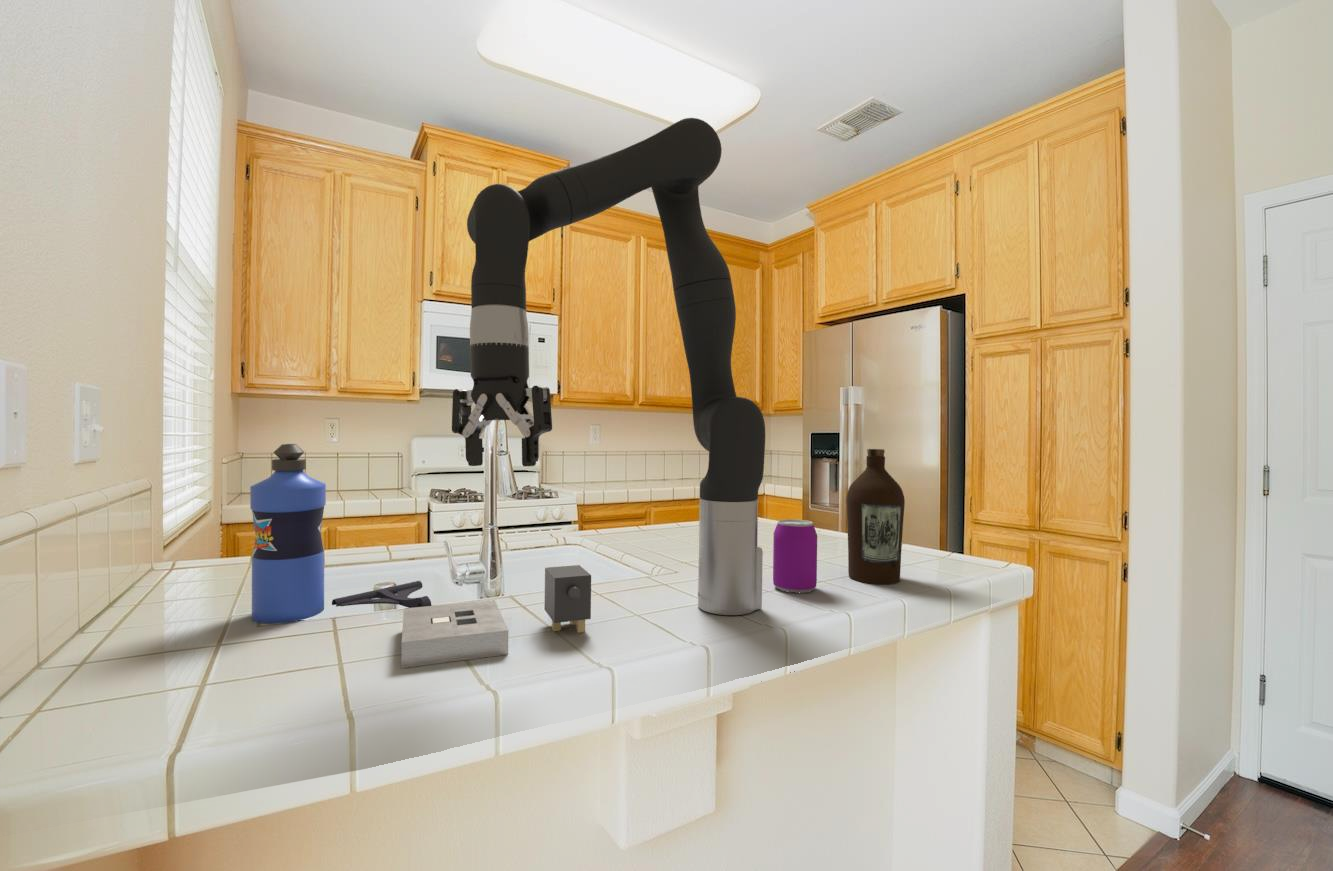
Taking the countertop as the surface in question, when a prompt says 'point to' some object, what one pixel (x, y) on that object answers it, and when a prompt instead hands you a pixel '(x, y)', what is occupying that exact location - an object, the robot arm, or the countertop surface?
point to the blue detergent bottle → (287, 541)
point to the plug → (568, 596)
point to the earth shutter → (440, 620)
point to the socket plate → (452, 633)
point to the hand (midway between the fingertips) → (501, 465)
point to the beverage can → (795, 556)
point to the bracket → (387, 597)
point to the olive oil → (875, 523)
